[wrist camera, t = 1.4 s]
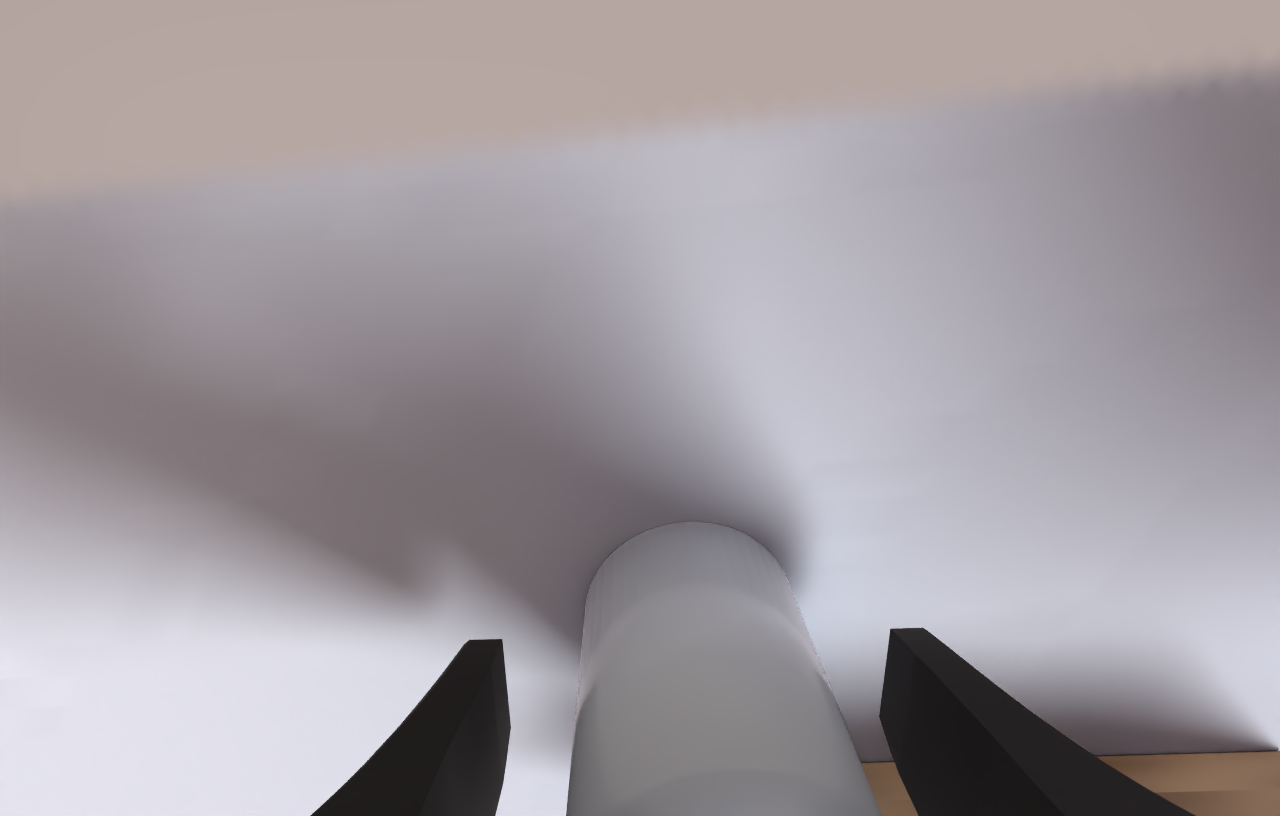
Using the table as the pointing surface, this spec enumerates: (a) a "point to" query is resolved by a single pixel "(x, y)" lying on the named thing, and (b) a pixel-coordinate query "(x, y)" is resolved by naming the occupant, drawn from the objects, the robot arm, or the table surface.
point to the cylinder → (705, 688)
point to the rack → (1152, 782)
